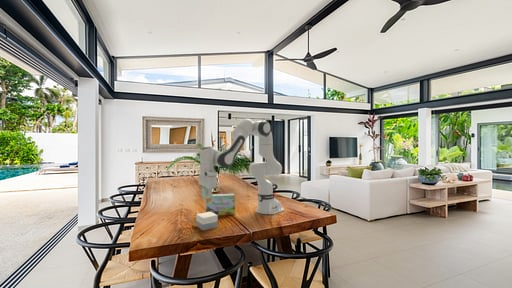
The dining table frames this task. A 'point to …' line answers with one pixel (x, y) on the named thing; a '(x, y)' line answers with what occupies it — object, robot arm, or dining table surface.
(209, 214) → the cream slab
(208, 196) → the sage block
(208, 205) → the snack box
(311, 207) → the dining table surface
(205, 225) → the grey slab
